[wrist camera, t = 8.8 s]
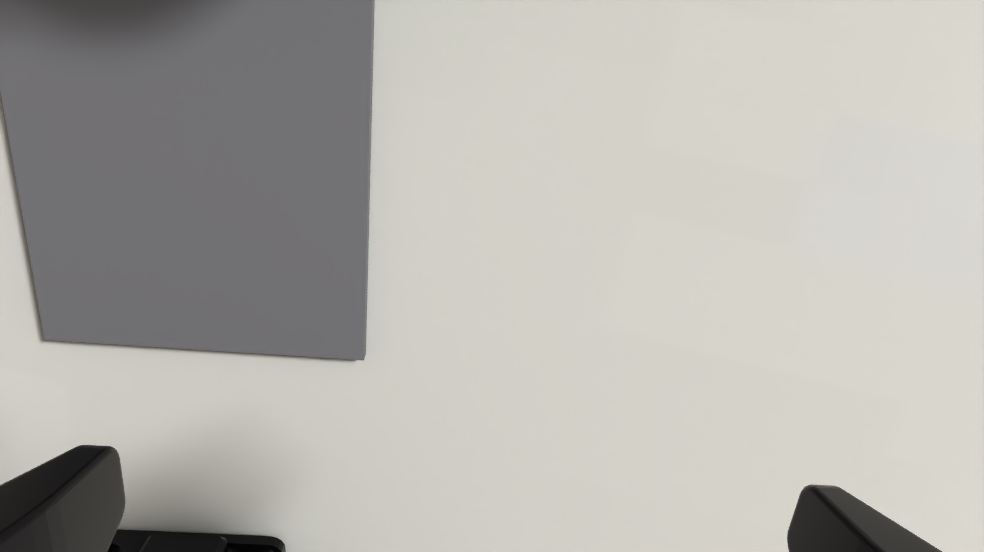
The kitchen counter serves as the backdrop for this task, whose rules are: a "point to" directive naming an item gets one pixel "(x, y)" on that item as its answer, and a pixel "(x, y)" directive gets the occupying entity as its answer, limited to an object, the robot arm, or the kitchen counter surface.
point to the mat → (194, 170)
